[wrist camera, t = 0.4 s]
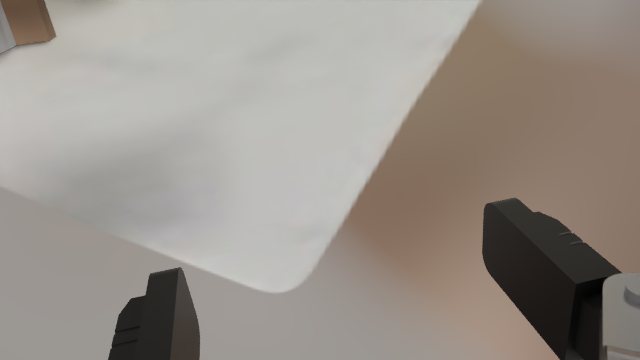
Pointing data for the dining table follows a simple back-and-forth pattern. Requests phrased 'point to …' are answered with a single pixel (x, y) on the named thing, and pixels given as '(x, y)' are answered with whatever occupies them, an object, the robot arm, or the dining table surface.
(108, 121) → the dining table surface
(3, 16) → the door track
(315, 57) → the dining table surface
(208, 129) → the dining table surface
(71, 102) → the dining table surface
